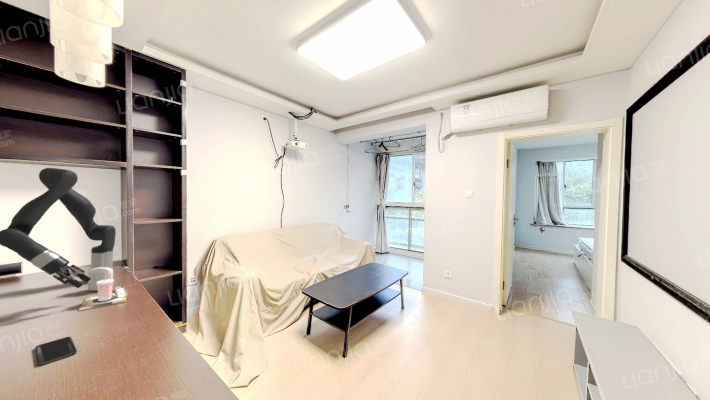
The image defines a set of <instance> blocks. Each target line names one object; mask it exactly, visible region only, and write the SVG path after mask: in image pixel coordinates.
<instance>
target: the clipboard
mask: <svg viewBox="0 0 710 400" xmlns="http://www.w3.org/2000/svg"><path fill="white" fill-rule="evenodd" d="M125 291H126V292H127V293H126V296H125V297H117V296H116V295H115V293H114V292H112V297H111V299H109V300H105V301H98V294H97V295H90V296H86V298H85V299H84V301H83V302H82V304H81V306H80V307H79V309H78V312H81V311H86V310H92V309H98V308H99V309H100V308H102V307H104V308H105V307H107V306H114V305H120V304H125V303H126V301H127V296H128V292H129V290H125ZM125 300H126V301H125Z"/></svg>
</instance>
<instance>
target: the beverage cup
mask: <svg viewBox="0 0 710 400" xmlns="http://www.w3.org/2000/svg"><path fill="white" fill-rule="evenodd" d="M114 282H115V279H114V278H113V279H106V271H105V280H100V281H98V282H97V288H98V290H97V295H98V301H105V300H109V299H111V297H112V293H113V288H114Z"/></svg>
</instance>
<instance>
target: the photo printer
mask: <svg viewBox="0 0 710 400" xmlns="http://www.w3.org/2000/svg"><path fill="white" fill-rule="evenodd" d="M105 271H106V279H114V269H111V268H108V267H97V268H93V269H91V268H90V270H89V272H88V277H90V278H91V280H90V281H88V282H87V290H88V291H98V288H97V282H98V281H100V280H105Z"/></svg>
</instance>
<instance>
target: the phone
mask: <svg viewBox="0 0 710 400" xmlns="http://www.w3.org/2000/svg"><path fill="white" fill-rule="evenodd" d="M34 351H35V356H36V363H37V366H38V367H42V366H45V365H49V364H51V363H54V362H58V361H60V360H64V359H66V358H69V357H71V356H74V355H76V354H77V348H76V346H75V344H74V341H73V339H72V336H66V337H62V338H59V339H58V338H57V339H55V340H52V341H48V342H45V343H41V344H39V345H36V346H35V347H34Z"/></svg>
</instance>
